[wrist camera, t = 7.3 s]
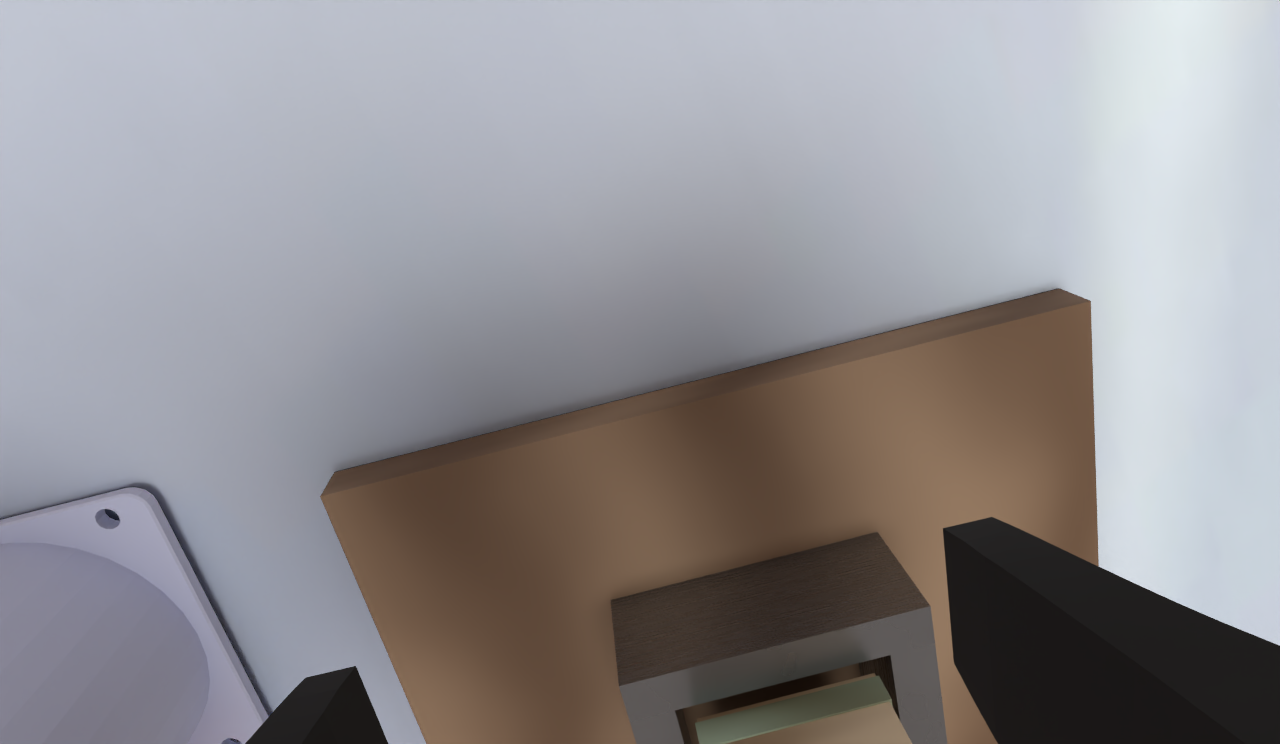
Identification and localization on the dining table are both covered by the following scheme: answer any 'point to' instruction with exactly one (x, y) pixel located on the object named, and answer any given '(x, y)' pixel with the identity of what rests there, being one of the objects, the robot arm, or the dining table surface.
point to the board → (713, 511)
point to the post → (812, 718)
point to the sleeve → (778, 636)
